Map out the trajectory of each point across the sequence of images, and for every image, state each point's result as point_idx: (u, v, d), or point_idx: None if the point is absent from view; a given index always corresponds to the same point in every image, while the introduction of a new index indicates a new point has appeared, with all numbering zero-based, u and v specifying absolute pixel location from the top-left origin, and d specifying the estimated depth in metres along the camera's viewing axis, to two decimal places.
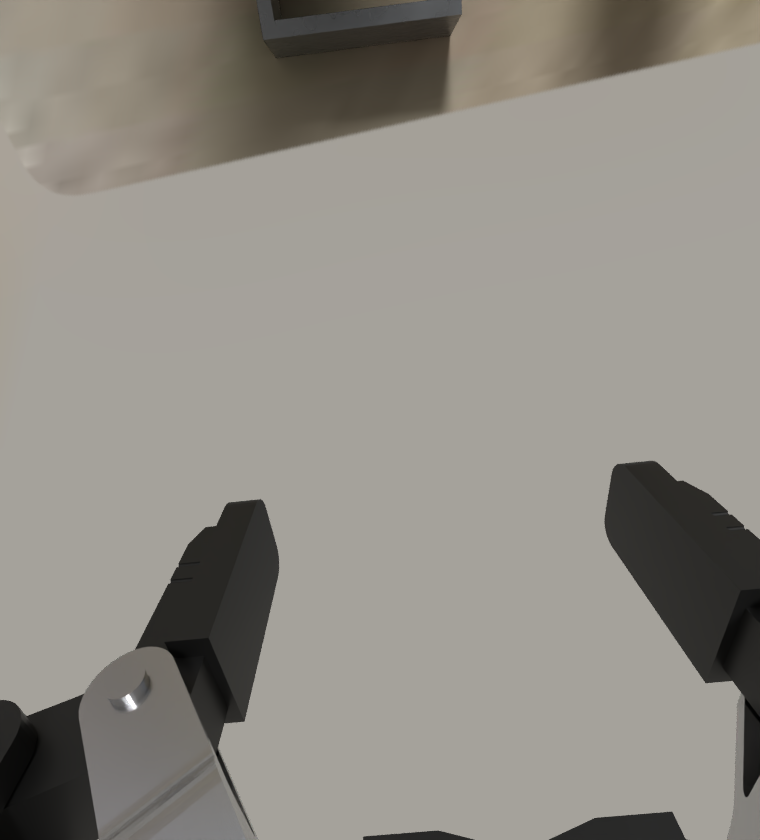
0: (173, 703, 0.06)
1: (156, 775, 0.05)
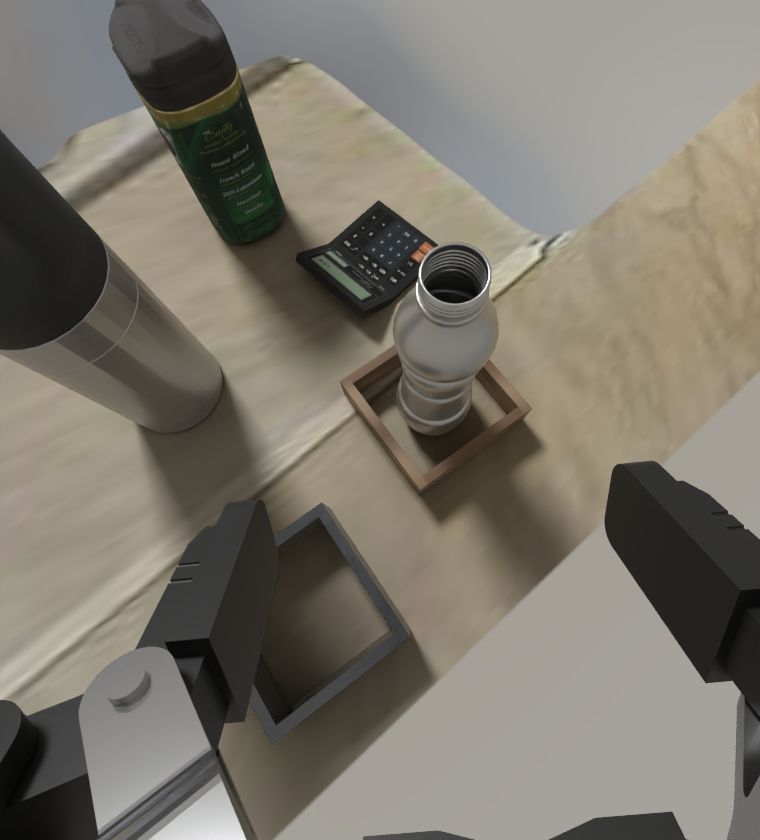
0: (173, 703, 0.06)
1: (156, 775, 0.05)
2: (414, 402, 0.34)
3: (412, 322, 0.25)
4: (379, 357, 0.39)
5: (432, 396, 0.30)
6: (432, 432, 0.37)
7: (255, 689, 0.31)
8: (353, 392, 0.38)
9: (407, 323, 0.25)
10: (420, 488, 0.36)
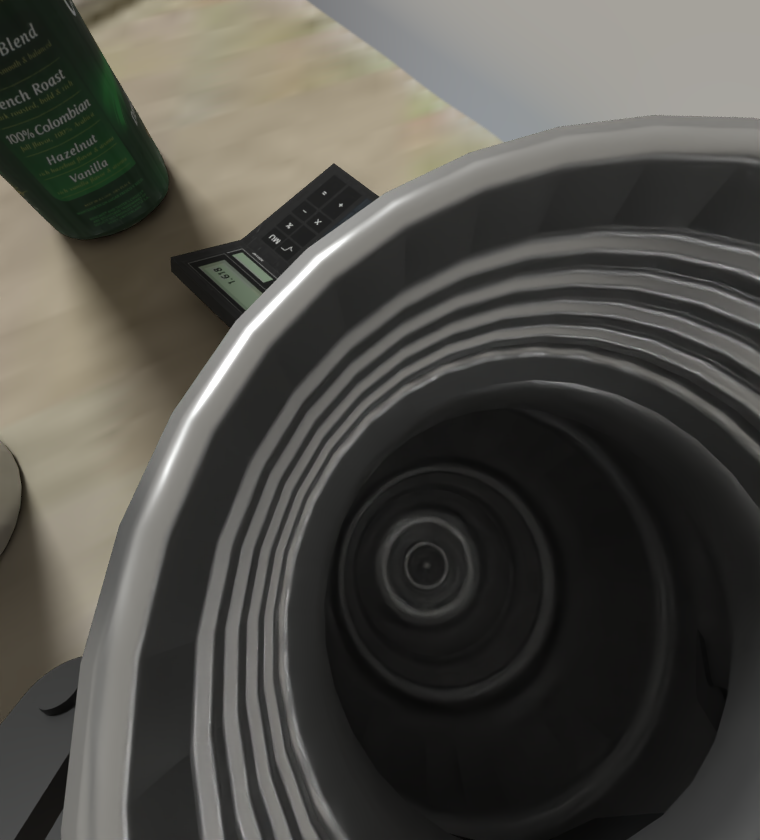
0: None
1: None
2: None
3: None
4: None
5: None
6: None
7: None
8: None
9: None
10: None
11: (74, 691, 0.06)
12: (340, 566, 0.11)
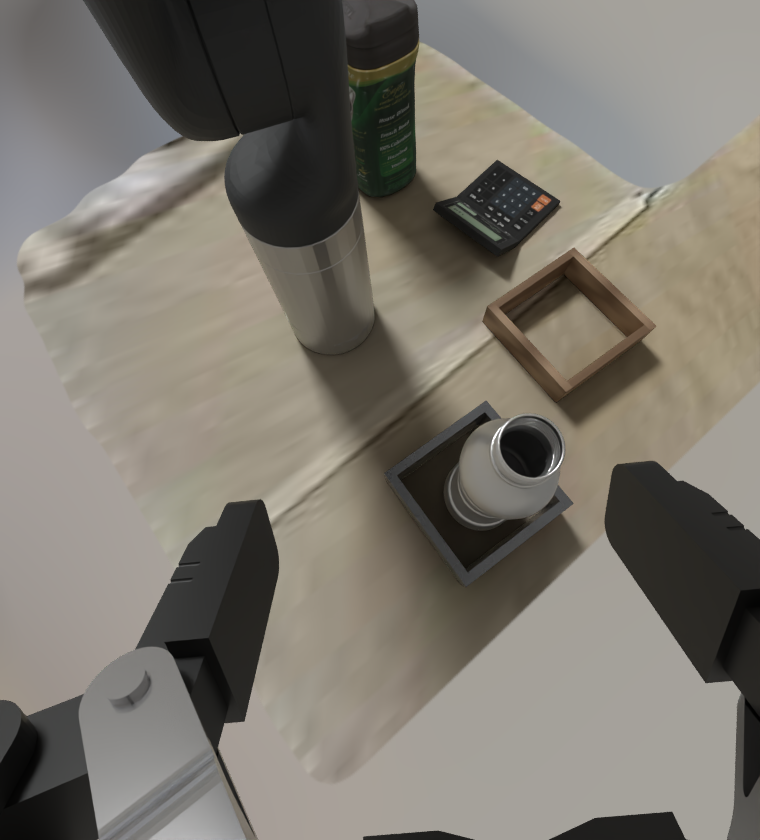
0: (173, 703, 0.06)
1: (156, 775, 0.05)
2: (467, 511, 0.35)
3: (483, 473, 0.26)
4: (519, 286, 0.46)
5: (489, 516, 0.32)
6: (479, 530, 0.39)
7: (447, 545, 0.38)
8: (499, 314, 0.45)
9: (477, 471, 0.27)
10: (566, 390, 0.42)
11: None
12: None
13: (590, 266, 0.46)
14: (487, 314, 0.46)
